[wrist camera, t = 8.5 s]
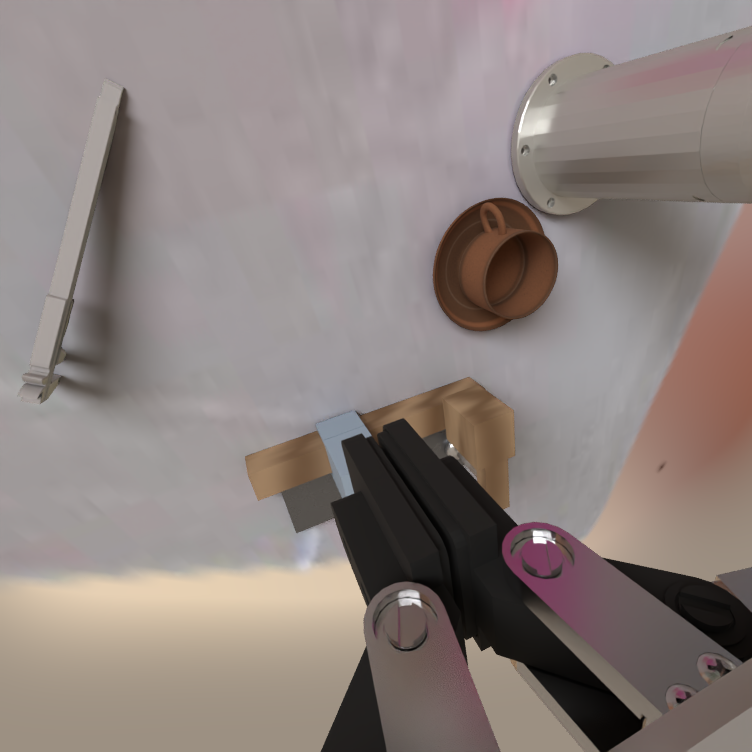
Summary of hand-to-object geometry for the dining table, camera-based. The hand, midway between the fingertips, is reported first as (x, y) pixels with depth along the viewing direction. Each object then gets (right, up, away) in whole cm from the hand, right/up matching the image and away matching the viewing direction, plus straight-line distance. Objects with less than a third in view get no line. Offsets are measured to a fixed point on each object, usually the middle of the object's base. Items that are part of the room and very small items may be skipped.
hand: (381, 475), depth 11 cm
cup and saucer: (+10, +13, +30) cm, 34 cm away
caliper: (-20, +12, +19) cm, 30 cm away
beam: (0, -5, +34) cm, 34 cm away
